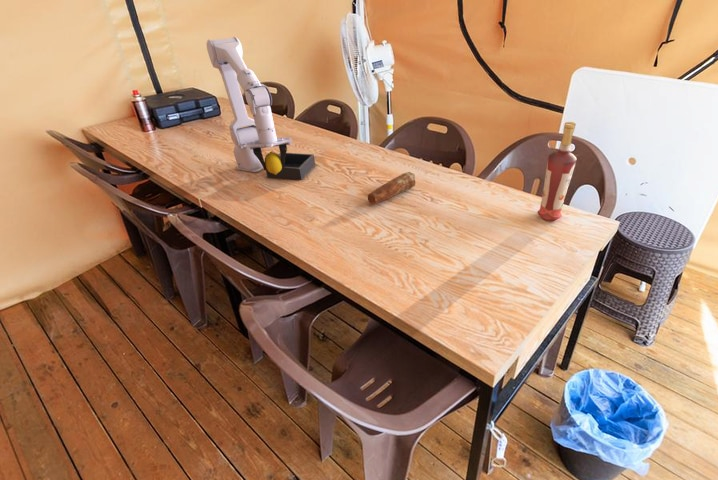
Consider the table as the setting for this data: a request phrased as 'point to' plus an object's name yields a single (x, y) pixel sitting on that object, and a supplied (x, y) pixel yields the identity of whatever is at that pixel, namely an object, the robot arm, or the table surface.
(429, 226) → the table surface
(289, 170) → the bin
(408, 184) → the brown cylinder
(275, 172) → the lemon
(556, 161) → the liquor
